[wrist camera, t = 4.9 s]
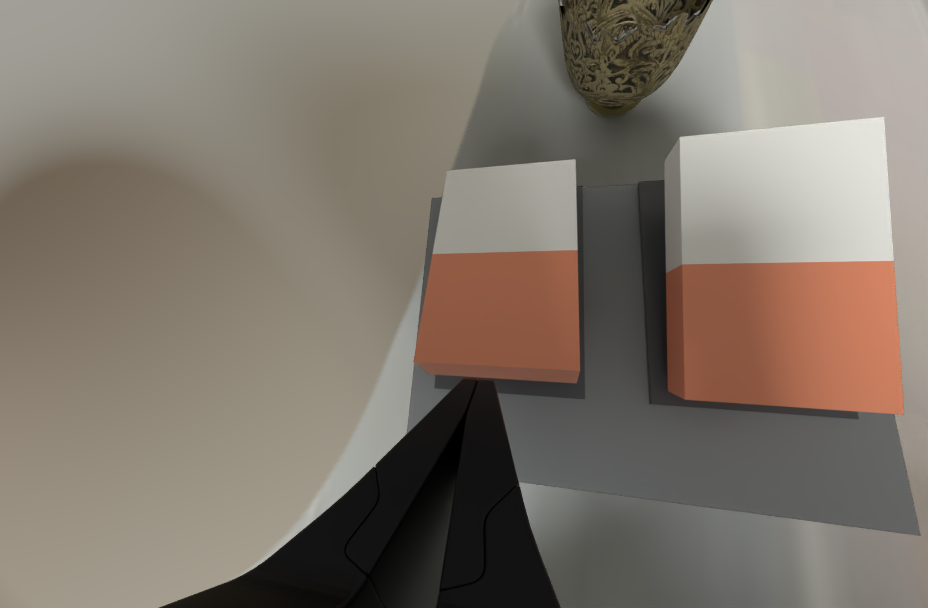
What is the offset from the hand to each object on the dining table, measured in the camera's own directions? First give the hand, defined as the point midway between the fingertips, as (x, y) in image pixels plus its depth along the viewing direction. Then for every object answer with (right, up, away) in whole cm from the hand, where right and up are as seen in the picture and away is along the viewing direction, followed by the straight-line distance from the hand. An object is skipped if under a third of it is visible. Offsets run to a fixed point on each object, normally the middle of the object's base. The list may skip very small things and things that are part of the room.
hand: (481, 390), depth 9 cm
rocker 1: (+1, +3, +4) cm, 5 cm away
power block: (+7, 0, +11) cm, 13 cm away
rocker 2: (+9, +3, +2) cm, 10 cm away
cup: (+10, +16, +15) cm, 24 cm away
